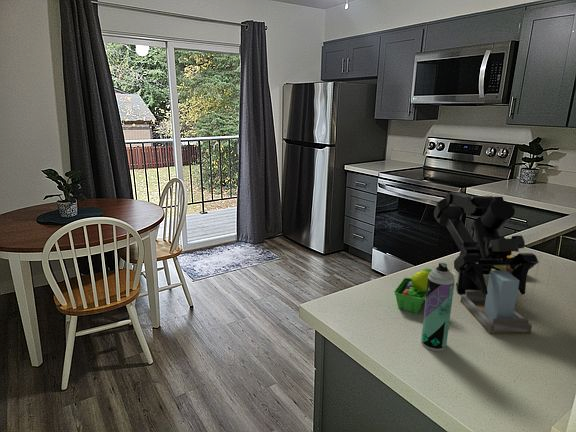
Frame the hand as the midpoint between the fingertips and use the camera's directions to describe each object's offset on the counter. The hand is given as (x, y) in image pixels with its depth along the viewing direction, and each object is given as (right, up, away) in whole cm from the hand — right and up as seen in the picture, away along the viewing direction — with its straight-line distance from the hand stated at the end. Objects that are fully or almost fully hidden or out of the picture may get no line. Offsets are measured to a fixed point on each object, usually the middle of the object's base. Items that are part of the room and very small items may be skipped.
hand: (504, 294), depth 95 cm
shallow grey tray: (0, -7, +6) cm, 9 cm away
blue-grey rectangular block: (0, -7, +3) cm, 8 cm away
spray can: (-20, -10, -6) cm, 23 cm away
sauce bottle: (+21, +3, +29) cm, 36 cm away
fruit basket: (-19, -5, +12) cm, 23 cm away
